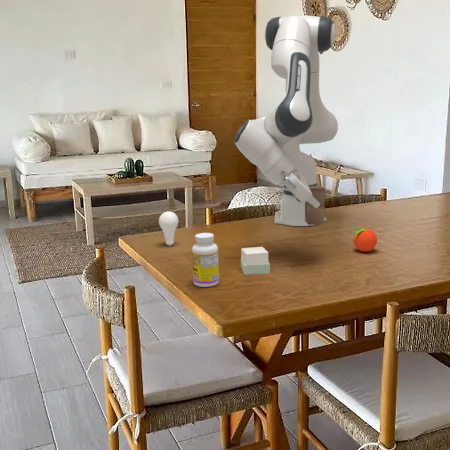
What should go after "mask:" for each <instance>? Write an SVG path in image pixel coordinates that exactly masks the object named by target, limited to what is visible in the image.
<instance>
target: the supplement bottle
mask: <svg viewBox="0 0 450 450" xmlns="http://www.w3.org/2000/svg"><path fill="white" fill-rule="evenodd" d="M194 237H195V238H194V239H195V242H196V243H195V244H194V245H193V246H192V248H191V253H192V255H191V258H192V259H191V260H192V261H191V262H192V280H193V284H194V285H195V286H197V287H199V288H200V287H201V288H209V287H214V286H217V285H218V284H219V283H220V270H219V268H220V267H219V266H220V265H219V247H218V245H217V244H216V243H214V240H215V238H214V237H215V235H214V234H213V233H211V232H202V233H196V234H195V235H194Z"/></svg>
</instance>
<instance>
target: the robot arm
mask: <svg viewBox="0 0 450 450" xmlns="http://www.w3.org/2000/svg"><path fill="white" fill-rule="evenodd" d="M266 23H267V24H266V27H265V30H264V40H265V44H266V46H267V47H268V49H269V50H271V56H270V57H271V58H270V65H271V69H272V71H273V72H274V73H275V75H277V76H278V77H280V78H282V79H284V80H285V97H284V98H283V100H282V101H281V102H280V103H279V104H278V105H277V107H275V108H274V109H273V110H272V111H271V112H270V113H268V114H266V115H264V116H263V117H260V118H256V119H247V120H245V121H244V122H243V123H242V124H241V126H240V127H239V128H238V130H237V131H236V133H235V135H234V140H233V141H234V145H235V146H236V148H237V149H238V150H239V152H240V153H242V154H243V156H244V158H246V159H247V160H248V161H249V162H250V163H251V164H253V165H255V166H256V167H257V168H258V169H259V170H260V172H261V173H262V175H264V177H266V179H268V180H269V181H270V182H271V183H272V184H273V185H275V186H277V185H279V184H280V186H281V187H283V188H282V189H283V195H282V196H281V199H280V201H279V202H276V206H275V208H276V209H277V210H278V211H275V212H274V222H273V223H274V224H279V225H285V226H290V227H292V226H293V227H308V226H309V227H310V226H311V225H308V224H307V223H306V222H305V202H306V201H307V202H309V203H310V204H311V205H313V206H314V207H315V208H318V207H319V206H320V203H319V202H318V201H317V200H316V199H315V198H314V197H313V196H312V192H311V190H310V188H309V186H318V182H317V162H316V161H317V160H315V158H313V156H311V155H309V154H308V153H305V152H303V151H301V148H300V145H306V144H309V145H310V144H321V143H327V142H329V141H332V140H334V139H335V137H336V136H337V133H338V130H339V124H338V123H339V122H338V120H337V118H336V116H335V115H334V114H333V113H332V112H330V110H329V109H327V107H326V106H325V105H324V103H323V101H322V99H321V95H320V55H323V53H325V52H327V51H328V50H330V49H331V48H332V47H333V44H334V42H335V39H336V35H337V33H336V32H337V31H336V27H335V24H334V23H335V22H334V21H333V19H332V18H331V17H327V16H323V15H321V16H315V15H305V14H303V15H289V16H284V17H281V16H276V17H272V18H270V20H269V21H267V22H266ZM326 221H327V217H326V216H325V217H324V222H326ZM315 225H317V224H315ZM315 225H314V226H315Z"/></svg>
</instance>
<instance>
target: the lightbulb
mask: <svg viewBox="0 0 450 450" xmlns="http://www.w3.org/2000/svg"><path fill="white" fill-rule="evenodd" d="M158 218H159V219H158V225H159V226H160V228H161V230H162V232H163V235H164V239H165V245H167V246H169V247H170V246H172V245H174V243H175V232H176V229H177V227H178V225H179V218H178V215H177V214H176V213H175V212H173V211H165V212H163V213H161V215H160V216H159V217H158Z"/></svg>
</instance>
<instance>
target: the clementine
mask: <svg viewBox="0 0 450 450" xmlns="http://www.w3.org/2000/svg"><path fill="white" fill-rule="evenodd" d="M352 238H353V239H352V242H353V245H354V246H355V248H356V249H357V250H358V251H360V252H364V253H367V252H371V251H372V250H373V249H375V248H376V246H377V244H378V236H377V234H376V232H375V231H374V230H372V229H370V228H367V227H365V228H364V227H363V228H360V229H359V230H357V231H356V232H355V234H354V235H353V237H352Z"/></svg>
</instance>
